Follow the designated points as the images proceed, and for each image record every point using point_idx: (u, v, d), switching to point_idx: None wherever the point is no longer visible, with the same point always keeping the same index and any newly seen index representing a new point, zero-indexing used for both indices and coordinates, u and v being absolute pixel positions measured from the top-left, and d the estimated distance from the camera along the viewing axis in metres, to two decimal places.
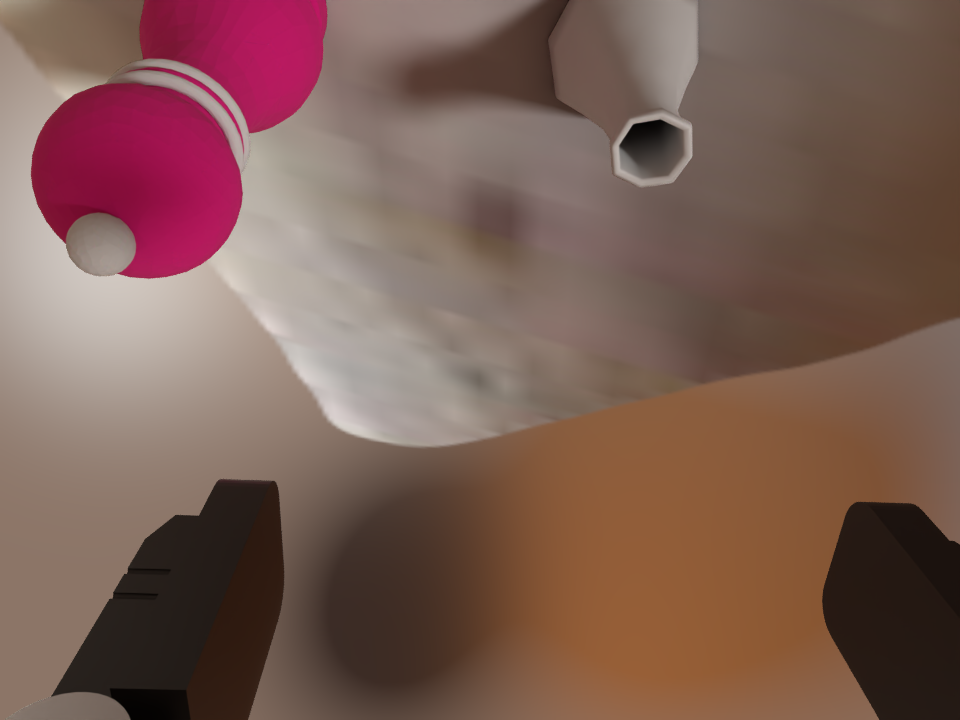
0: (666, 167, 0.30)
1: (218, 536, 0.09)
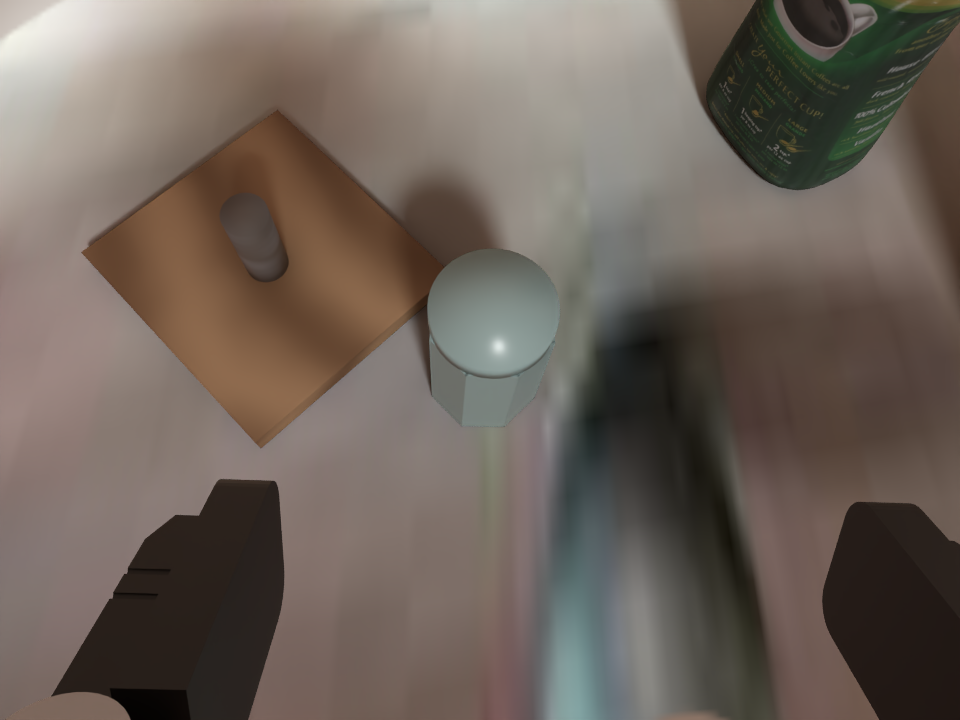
0: None
1: (218, 536, 0.09)
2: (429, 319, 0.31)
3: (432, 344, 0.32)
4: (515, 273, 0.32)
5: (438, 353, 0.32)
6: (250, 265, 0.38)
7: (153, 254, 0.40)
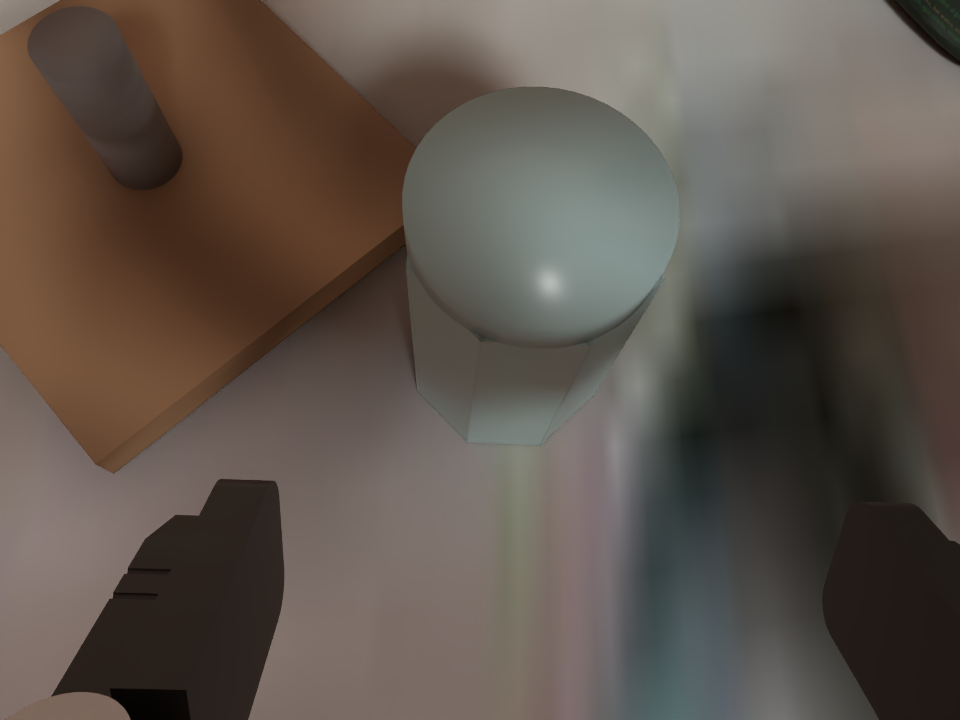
0: None
1: (218, 535, 0.09)
2: (405, 219, 0.15)
3: (412, 277, 0.16)
4: (586, 135, 0.16)
5: (424, 296, 0.16)
6: (104, 152, 0.22)
7: None
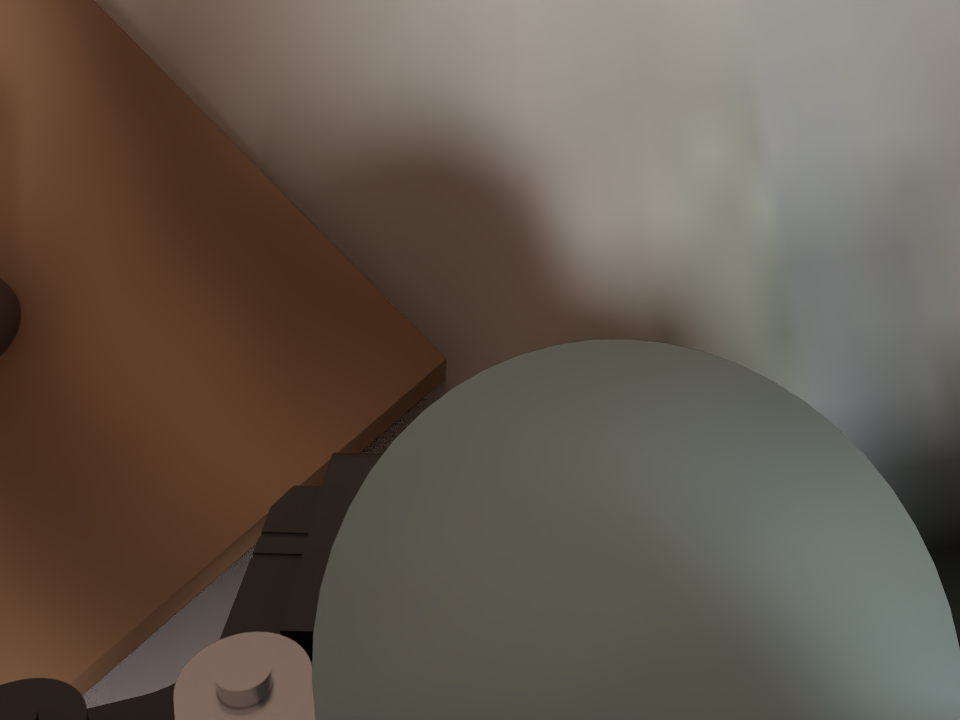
0: None
1: (344, 501, 0.10)
2: (319, 708, 0.06)
3: None
4: (732, 459, 0.07)
5: None
6: None
7: None
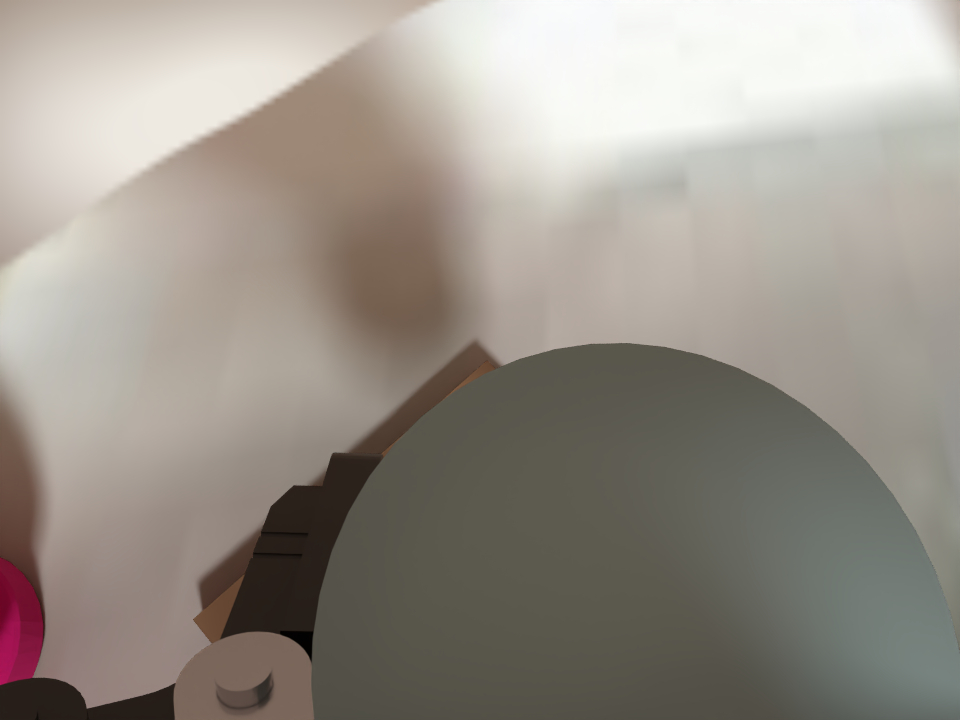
0: None
1: (345, 502, 0.10)
2: (319, 714, 0.06)
3: None
4: (731, 463, 0.07)
5: None
6: None
7: None
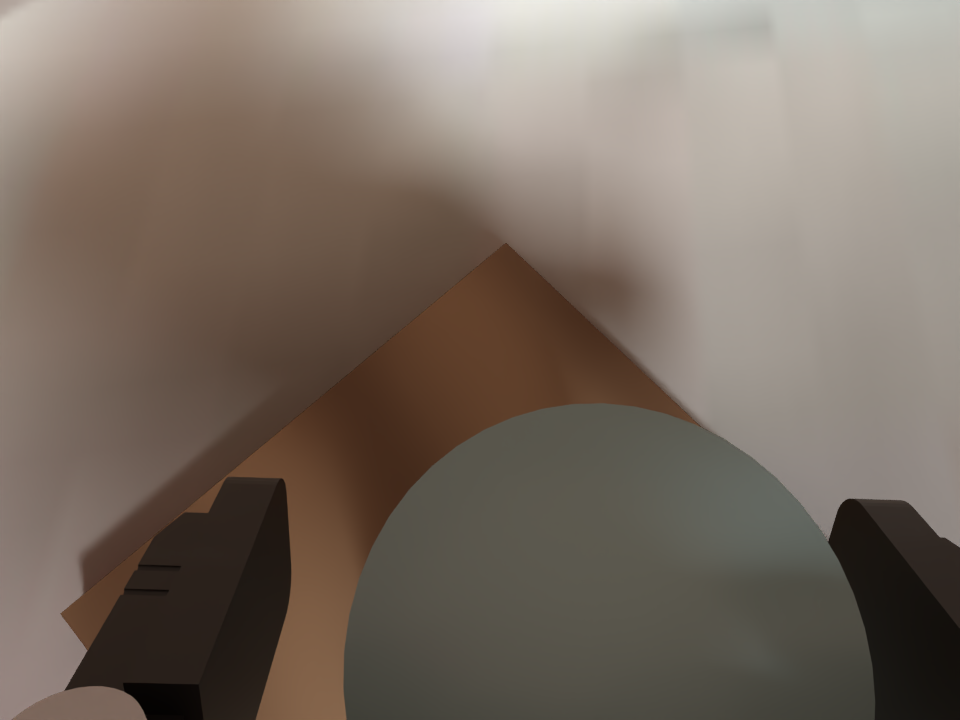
0: None
1: (227, 532, 0.09)
2: (349, 712, 0.08)
3: None
4: (688, 505, 0.08)
5: None
6: None
7: None
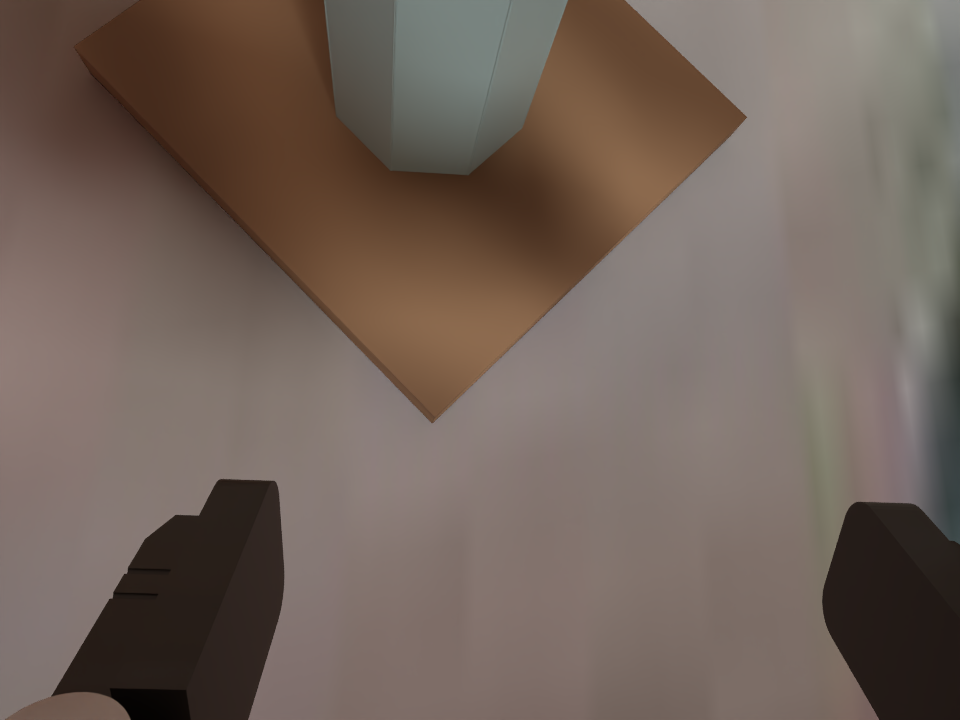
0: None
1: (218, 536, 0.09)
2: None
3: None
4: None
5: None
6: None
7: (214, 57, 0.21)
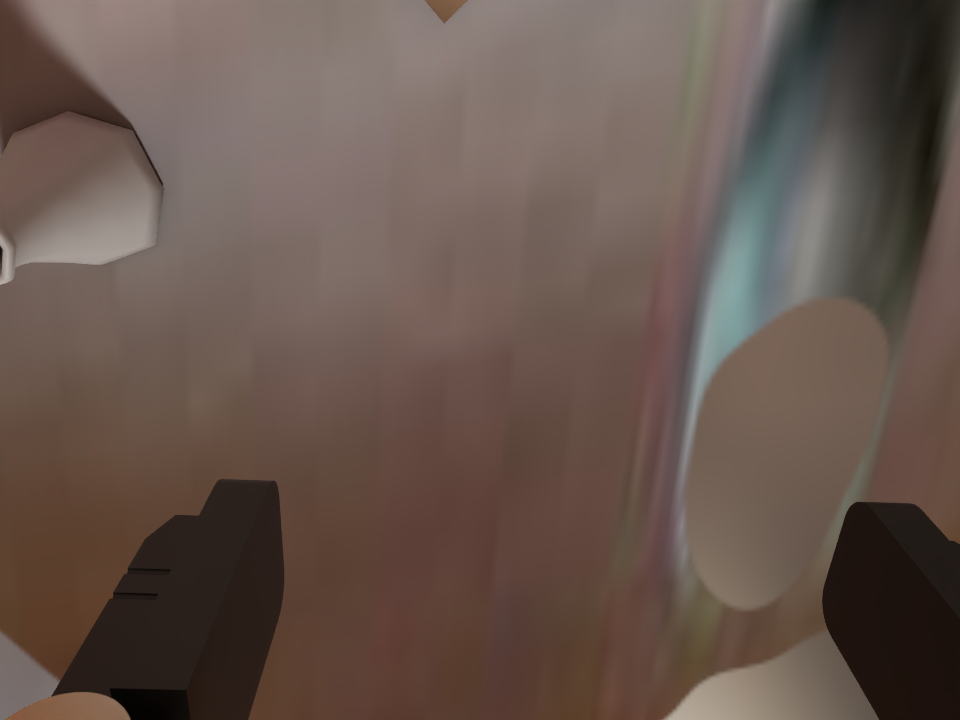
0: None
1: (218, 536, 0.09)
2: None
3: None
4: None
5: None
6: None
7: None
